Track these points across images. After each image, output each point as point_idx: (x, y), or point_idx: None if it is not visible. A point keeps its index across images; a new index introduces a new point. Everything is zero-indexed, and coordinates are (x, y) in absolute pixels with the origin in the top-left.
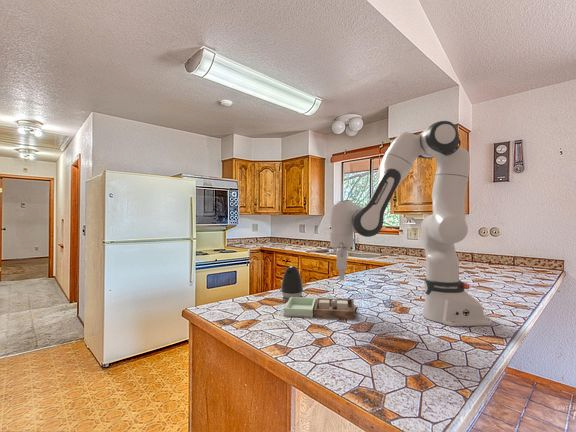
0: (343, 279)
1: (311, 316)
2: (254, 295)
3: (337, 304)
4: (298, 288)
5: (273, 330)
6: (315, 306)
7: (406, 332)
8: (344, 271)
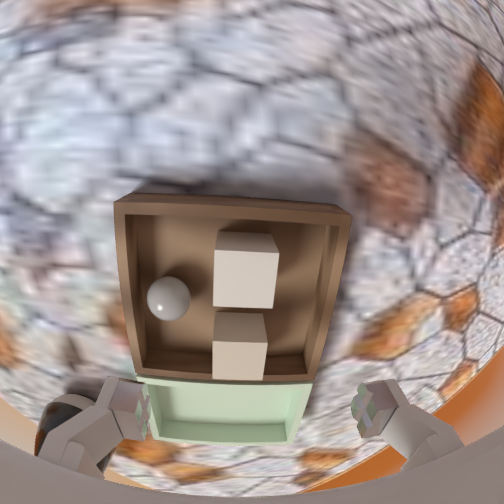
0: (393, 383)
1: None
2: (108, 466)
3: (271, 303)
4: None
5: None
6: (271, 379)
7: (428, 46)
8: (451, 428)
